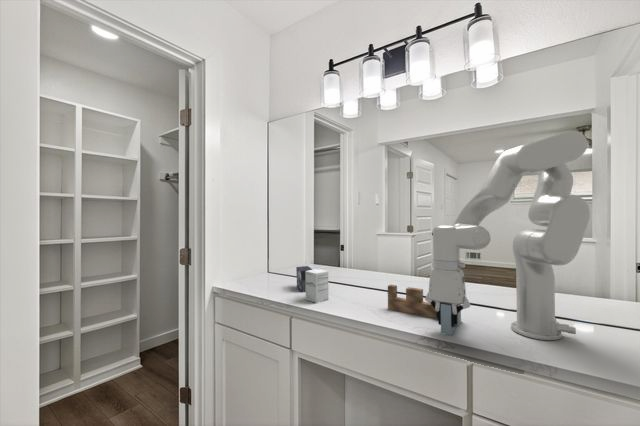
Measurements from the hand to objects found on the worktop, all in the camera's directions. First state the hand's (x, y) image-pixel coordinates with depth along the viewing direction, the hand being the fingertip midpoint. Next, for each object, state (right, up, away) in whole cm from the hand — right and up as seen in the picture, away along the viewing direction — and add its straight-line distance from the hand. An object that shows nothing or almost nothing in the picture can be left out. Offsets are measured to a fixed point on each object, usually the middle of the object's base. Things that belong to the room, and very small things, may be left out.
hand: (447, 324), depth 91 cm
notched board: (-4, -3, +18) cm, 18 cm away
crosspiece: (+3, -3, +4) cm, 6 cm away
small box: (-47, -4, +54) cm, 72 cm away
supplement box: (-41, -3, +36) cm, 54 cm away
